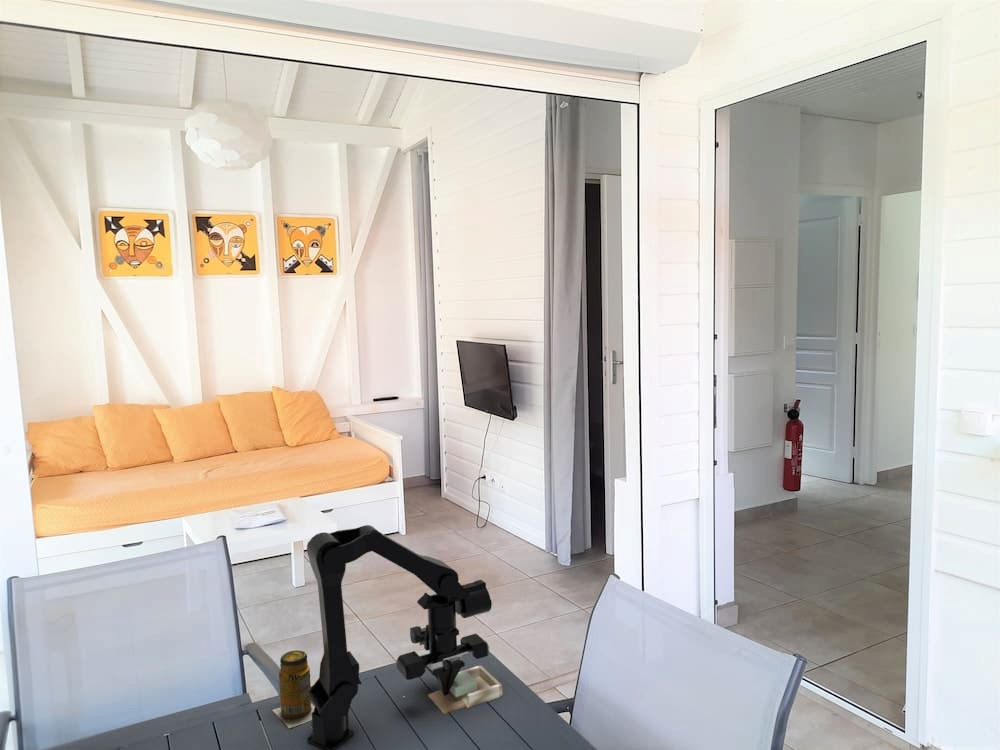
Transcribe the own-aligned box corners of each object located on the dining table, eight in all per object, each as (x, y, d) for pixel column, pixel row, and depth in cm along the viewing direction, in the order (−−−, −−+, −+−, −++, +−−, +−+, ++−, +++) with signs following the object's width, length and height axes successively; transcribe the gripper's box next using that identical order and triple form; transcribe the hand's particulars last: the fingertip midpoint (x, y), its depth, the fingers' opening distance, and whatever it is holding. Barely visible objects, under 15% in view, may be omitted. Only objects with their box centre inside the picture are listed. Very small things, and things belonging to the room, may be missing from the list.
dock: (445, 717, 146) (445, 703, 145) (426, 695, 154) (425, 682, 153) (502, 698, 152) (502, 685, 152) (480, 677, 160) (480, 665, 160)
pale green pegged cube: (456, 702, 149) (455, 685, 149) (446, 691, 154) (445, 674, 153) (477, 694, 152) (476, 678, 151) (467, 684, 156) (466, 668, 155)
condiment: (305, 698, 153) (302, 644, 152) (323, 715, 147) (320, 659, 145) (272, 711, 148) (268, 655, 147) (289, 729, 142) (285, 672, 141)
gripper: (465, 598, 160) (467, 665, 162) (385, 619, 151) (388, 689, 153) (489, 617, 151) (491, 688, 152) (405, 640, 141) (408, 715, 143)
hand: (444, 694), depth 151 cm, fingers closed
